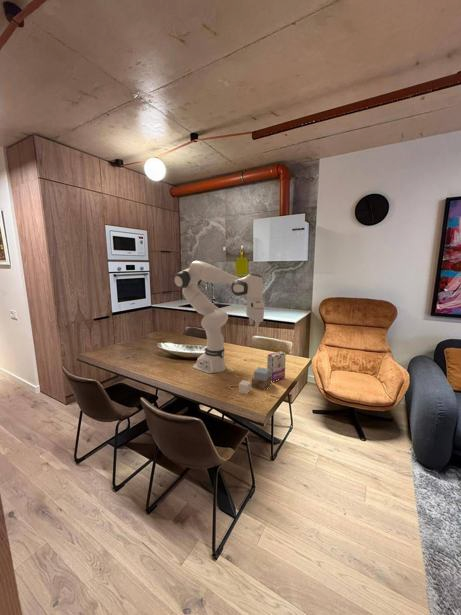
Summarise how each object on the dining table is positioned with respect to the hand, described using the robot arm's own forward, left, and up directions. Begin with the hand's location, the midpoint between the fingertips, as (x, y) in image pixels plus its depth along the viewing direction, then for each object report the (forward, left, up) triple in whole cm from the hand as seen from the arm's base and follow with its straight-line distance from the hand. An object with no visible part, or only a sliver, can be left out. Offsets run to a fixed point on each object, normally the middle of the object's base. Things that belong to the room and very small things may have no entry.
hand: (253, 326), depth 147 cm
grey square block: (+6, 0, -30) cm, 30 cm away
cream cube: (0, -11, -35) cm, 36 cm away
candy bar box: (+11, +12, -35) cm, 38 cm away
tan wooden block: (+6, 0, -35) cm, 35 cm away
